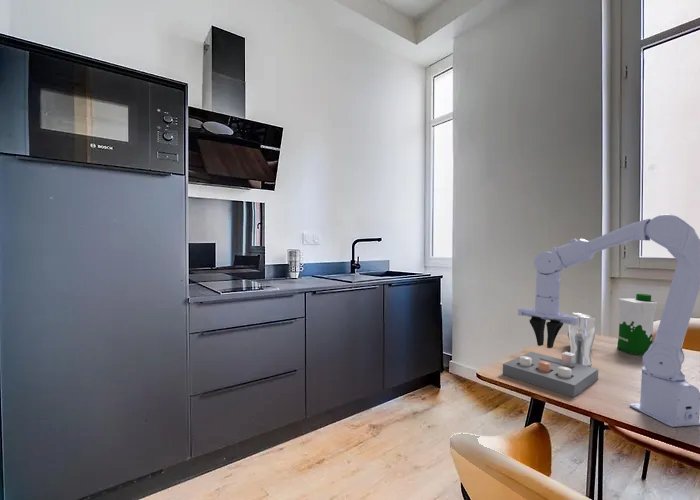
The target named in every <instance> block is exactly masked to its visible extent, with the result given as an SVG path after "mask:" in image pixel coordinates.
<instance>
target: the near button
mask: <svg viewBox="0 0 700 500" xmlns="http://www.w3.org/2000/svg"><path fill="white" fill-rule="evenodd" d="M558 376H560V377H563V378H567V379H571V369H570V368H568V367H562V366H560V367H558Z"/></svg>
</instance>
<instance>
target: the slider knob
mask: <svg viewBox="0 0 700 500" xmlns="http://www.w3.org/2000/svg"><path fill="white" fill-rule="evenodd" d="M570 352H571V351H570ZM570 352H568V351H565V352H562V353H561V359H562V364H561V365H564V366H567V367H573V366H574V365H575V354H574V353H570Z"/></svg>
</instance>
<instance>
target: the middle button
mask: <svg viewBox="0 0 700 500" xmlns="http://www.w3.org/2000/svg"><path fill="white" fill-rule="evenodd" d="M538 370H539V371H543V372H546V373H550V370H551V364H550V363H549V362H545V361H539V362H538Z"/></svg>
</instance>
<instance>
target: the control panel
mask: <svg viewBox="0 0 700 500" xmlns="http://www.w3.org/2000/svg"><path fill="white" fill-rule="evenodd" d="M521 356H526V357H530V358H531V359H532V363H531V367H525V366H522V365H520V356H518V357H516V358H513V359H511V360H509V361H506V362H505V363H502V375H503V376H507V377H509V378H512V379H515V380H518V381H522V382H524V383H528V384H531V385H534V386H536V387H540V388H544V389H546V390H550V391H551V392H552V391H553V392H556V393H559V394H562V395H565V396H569V397H570V398H575V397H577V396H578V395H580V394H581V393H582V392H583V391H585V390H586V389H587V388H589V387H590V386H592V385H593V384H595V383H596V382H597V381H598V380H599V368H595V367H593V366H585V365H581V364H577V363H575V365H574V366H573V367H568V368H570V369H571V379H567V378H563V377H560V376H558V367H560V366H562V367H567V366H564V365H561V364H562V358H559V357H558V358H557V357H553V356H549V355H546V354H541V353H538V352H535V351H534V352H533V351H529V352H526V353H525V354H522V355H521ZM539 361H545V362H549V363H550V364H551V370H550V373H546V372H543V371H539V370H538V362H539Z"/></svg>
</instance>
